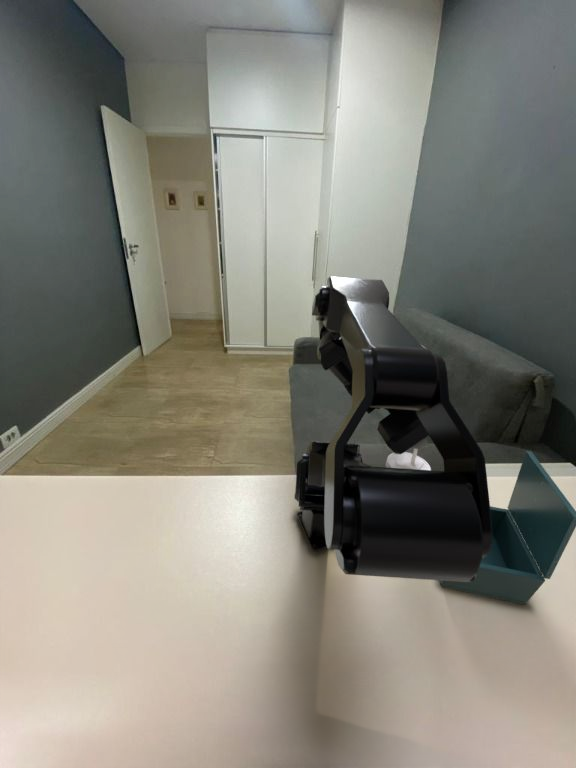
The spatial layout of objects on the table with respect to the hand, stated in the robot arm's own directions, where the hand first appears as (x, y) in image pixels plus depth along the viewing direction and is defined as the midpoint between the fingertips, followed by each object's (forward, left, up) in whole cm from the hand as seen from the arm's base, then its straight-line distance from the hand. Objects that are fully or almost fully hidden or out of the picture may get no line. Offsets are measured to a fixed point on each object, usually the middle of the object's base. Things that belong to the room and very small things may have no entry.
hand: (409, 427), depth 49 cm
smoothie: (-3, -5, -13) cm, 14 cm away
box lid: (+6, -17, -2) cm, 18 cm away
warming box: (+3, -15, -13) cm, 20 cm away
